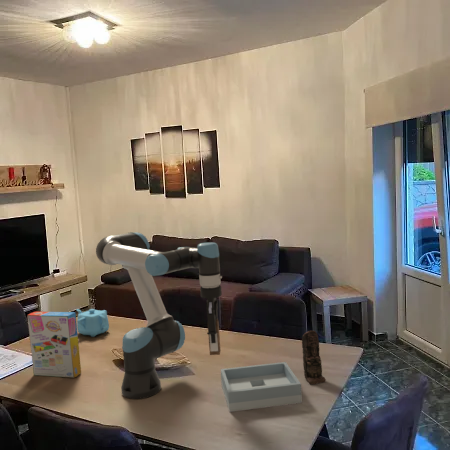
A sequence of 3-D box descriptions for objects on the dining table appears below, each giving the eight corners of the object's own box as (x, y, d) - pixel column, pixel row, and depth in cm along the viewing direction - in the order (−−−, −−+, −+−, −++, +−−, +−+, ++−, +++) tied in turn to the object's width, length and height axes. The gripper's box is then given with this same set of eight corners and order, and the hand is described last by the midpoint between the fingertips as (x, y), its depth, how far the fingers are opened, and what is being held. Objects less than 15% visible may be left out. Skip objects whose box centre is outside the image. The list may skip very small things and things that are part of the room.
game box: (81, 373, 198) (76, 312, 195) (74, 378, 193) (68, 315, 190) (41, 370, 204) (35, 310, 201) (32, 375, 198) (26, 314, 196)
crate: (229, 411, 158) (228, 392, 157) (221, 386, 178) (220, 369, 177) (301, 402, 162) (301, 383, 161) (286, 378, 181) (285, 361, 181)
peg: (209, 355, 165) (207, 322, 164) (210, 351, 169) (208, 319, 167) (219, 354, 165) (217, 322, 164) (220, 351, 168) (218, 319, 167)
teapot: (111, 327, 260) (109, 304, 258) (107, 336, 243) (105, 312, 242) (78, 330, 257) (76, 307, 256) (72, 340, 241) (69, 315, 240)
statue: (310, 385, 174) (308, 334, 172) (302, 378, 181) (300, 329, 179) (326, 382, 176) (324, 332, 174) (317, 375, 183) (315, 326, 181)
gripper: (218, 290, 156) (223, 357, 158) (222, 280, 172) (226, 340, 174) (197, 291, 156) (201, 357, 159) (203, 281, 173) (207, 341, 175)
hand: (214, 348), depth 166 cm, fingers closed on peg, 4 cm apart
